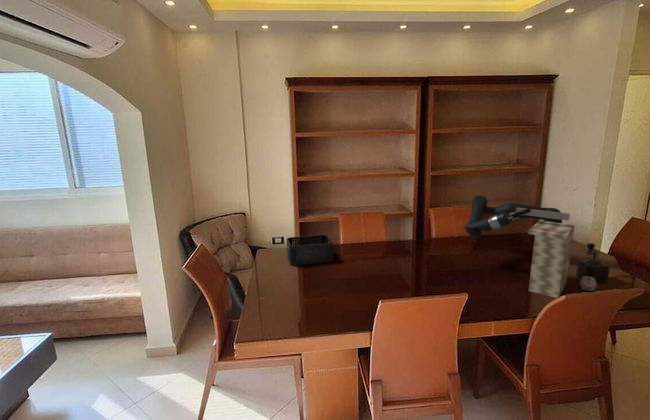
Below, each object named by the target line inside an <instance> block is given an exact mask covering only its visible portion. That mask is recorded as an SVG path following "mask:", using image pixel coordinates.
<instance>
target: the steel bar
mask: <svg viewBox="0 0 650 420" xmlns="http://www.w3.org/2000/svg"><path fill="white" fill-rule="evenodd" d="M525 209H526V208H516V212H519V211H523V210H525ZM560 212H561V211H560ZM560 212H552V211H543V210H535V209H530V213H527V214H524V215H529V216H537V217H545V218H552V219H560V220H562V221H569V220H570V218H571V213H566V212H561V213H560Z"/></svg>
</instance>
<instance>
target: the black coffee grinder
mask: <svg viewBox="0 0 650 420" xmlns="http://www.w3.org/2000/svg"><path fill="white" fill-rule="evenodd" d="M586 247H587V248H588V249H587V251H586V254H587V255H591V256H592V255H593V257H592V258H591V259H586V260H585V259H581V260H577V262H576V263H577V265H576V273H575V276H576V277H577V278H578V277H579V279H580V280H581V278H582V277H583V275H584V276H589V277H594V276H595V280H596V283H597V284H607V283H609V282H608V281H609V277H610V276H609V275H610V270H611V266H610V265H608V264H606V263H604V262H603V261H602V259H596V256H597V252H598V251H597V250H594V248H595V247H596V244H595V243H593V242H589V243H586ZM582 274H583V275H582Z"/></svg>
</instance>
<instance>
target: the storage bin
mask: <svg viewBox="0 0 650 420" xmlns="http://www.w3.org/2000/svg"><path fill="white" fill-rule="evenodd" d="M333 243H334V241H333V240H332V239H331V237H329V235H325V234H319V235H305V236H291V237H287V238H286V251H287V252H286V254H287V255H286V256H287V260H288V263H289V265H291V266H302V265H311V264H312V265H313V264H320V263H321V264H322V263H330V262H333V261H334V257H333V256H334V254H333V253H334V251H333V250H334V248H333V247H334V246H333V245H334V244H333ZM307 253H308V254H307ZM309 253H310V254H309ZM299 254H300V255H299Z"/></svg>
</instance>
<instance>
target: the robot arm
mask: <svg viewBox="0 0 650 420" xmlns="http://www.w3.org/2000/svg"><path fill="white" fill-rule="evenodd" d="M516 208H526V209H525V210H523V211H519V212H516ZM530 209H535V210H543V211H552V212H560V213H562V211H561V210H560V209H558V208H554V207H541V206H532V205H527V204H522V203H516V202H515V203H514V202H507V203H503V204H502V205H498V206H488V199H487V197H486V196H485V195H475V196H473V198H472V200H471V213H470V217H469V219H468V220H469V221H468V222H467V223H466V224H465V225H464V230H465V232H466V233H467V235H469V237H470V238H471V239H472V240H476V239H479V238H480V237H481V236H482V233H483V232H486V233H487V232H490V231H492V230H498V229H500V228H503V227H506V226H508V225H511V223H512V222H511V221H514V220H516V219H538V220H541V221H547V222H554V223H562V224H563V220H560V219H552V218H545V217H537V216H529V215H524V214H527V213H530ZM483 215H492V216H490V217H488V218H485V219H483Z"/></svg>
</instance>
